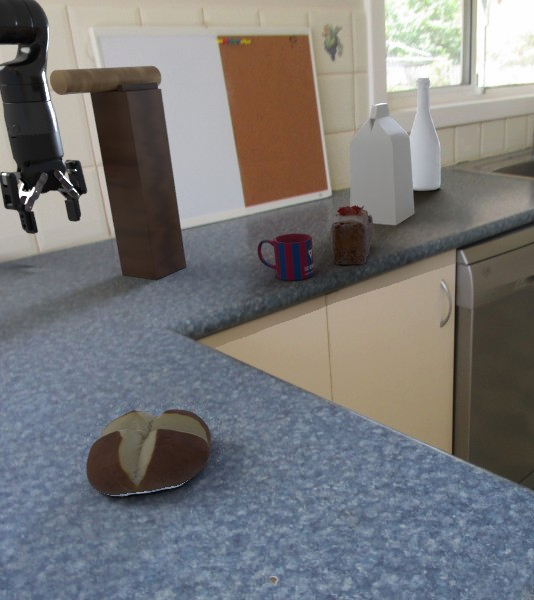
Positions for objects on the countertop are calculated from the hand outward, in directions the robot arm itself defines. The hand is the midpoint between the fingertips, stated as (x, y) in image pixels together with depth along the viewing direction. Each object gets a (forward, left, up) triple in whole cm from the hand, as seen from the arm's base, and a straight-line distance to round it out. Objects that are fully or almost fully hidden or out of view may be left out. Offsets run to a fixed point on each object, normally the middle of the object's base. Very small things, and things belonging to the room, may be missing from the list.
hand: (53, 226), depth 114 cm
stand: (+15, -1, -10) cm, 18 cm away
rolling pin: (+13, -2, +24) cm, 27 cm away
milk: (+69, +15, -10) cm, 71 cm away
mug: (+36, -15, -10) cm, 40 cm away
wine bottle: (+94, +41, -10) cm, 103 cm away
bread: (+7, -66, -10) cm, 67 cm away
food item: (+51, -10, -10) cm, 53 cm away
